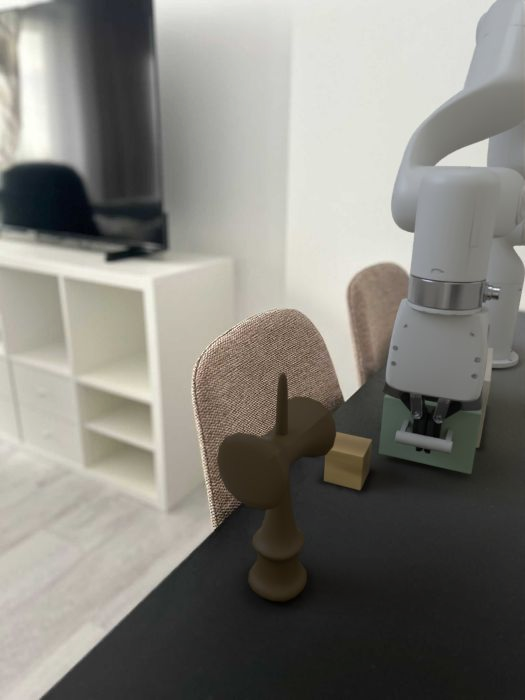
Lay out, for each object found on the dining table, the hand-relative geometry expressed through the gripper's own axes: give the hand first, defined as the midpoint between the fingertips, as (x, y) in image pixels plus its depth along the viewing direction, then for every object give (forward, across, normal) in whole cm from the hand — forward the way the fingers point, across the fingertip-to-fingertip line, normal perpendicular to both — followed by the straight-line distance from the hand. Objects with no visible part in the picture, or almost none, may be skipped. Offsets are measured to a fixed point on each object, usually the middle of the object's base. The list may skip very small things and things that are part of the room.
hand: (424, 446), depth 60 cm
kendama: (+4, +9, +23) cm, 25 cm away
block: (+4, +8, +4) cm, 10 cm away
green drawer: (+3, 0, -6) cm, 7 cm away
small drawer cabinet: (+4, 0, -17) cm, 18 cm away
